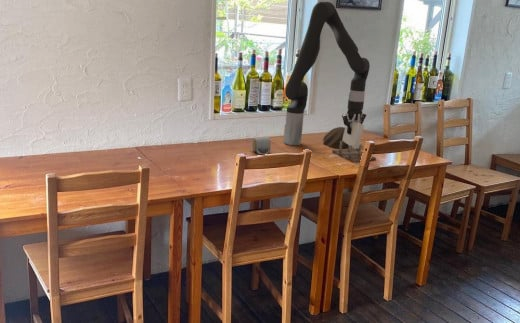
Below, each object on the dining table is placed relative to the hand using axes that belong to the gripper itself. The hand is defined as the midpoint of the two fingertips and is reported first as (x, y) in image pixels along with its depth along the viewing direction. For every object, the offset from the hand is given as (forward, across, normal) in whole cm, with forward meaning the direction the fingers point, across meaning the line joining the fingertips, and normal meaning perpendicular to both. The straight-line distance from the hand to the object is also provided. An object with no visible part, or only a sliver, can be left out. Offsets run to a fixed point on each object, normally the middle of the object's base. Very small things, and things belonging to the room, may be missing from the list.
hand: (352, 133), depth 241 cm
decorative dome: (+12, -10, -21) cm, 26 cm away
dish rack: (+12, -3, 0) cm, 12 cm away
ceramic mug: (+12, +40, -19) cm, 46 cm away
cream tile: (+5, 0, 0) cm, 5 cm away
